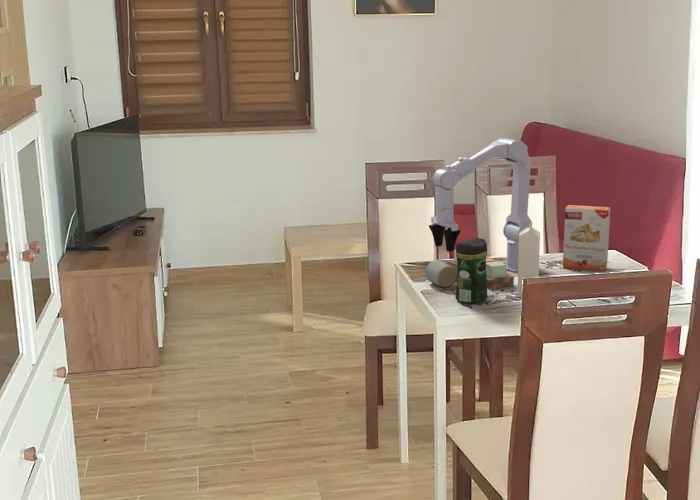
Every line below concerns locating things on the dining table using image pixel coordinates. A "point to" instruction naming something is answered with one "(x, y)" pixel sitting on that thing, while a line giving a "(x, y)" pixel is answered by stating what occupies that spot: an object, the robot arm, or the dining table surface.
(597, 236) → the cracker box
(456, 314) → the dining table surface
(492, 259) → the key terracotta
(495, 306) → the dining table surface
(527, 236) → the milk
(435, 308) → the dining table surface
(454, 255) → the key ivory
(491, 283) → the keypad frame
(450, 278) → the ceramic mug
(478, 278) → the coffee jar
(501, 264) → the key sage
